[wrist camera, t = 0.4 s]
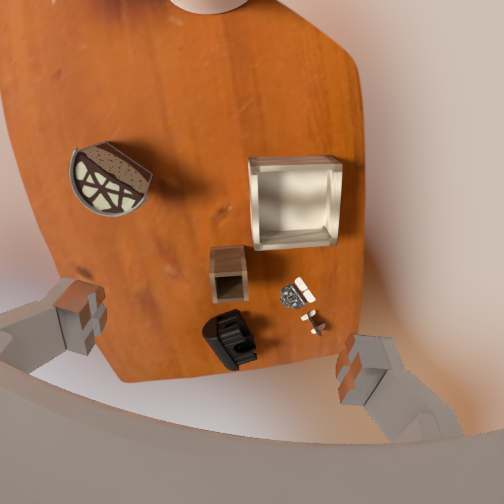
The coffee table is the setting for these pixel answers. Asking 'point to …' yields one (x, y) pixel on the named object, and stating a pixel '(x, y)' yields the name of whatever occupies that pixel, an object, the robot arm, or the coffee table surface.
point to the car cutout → (300, 301)
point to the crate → (294, 201)
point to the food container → (108, 180)
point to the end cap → (230, 339)
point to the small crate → (228, 274)
